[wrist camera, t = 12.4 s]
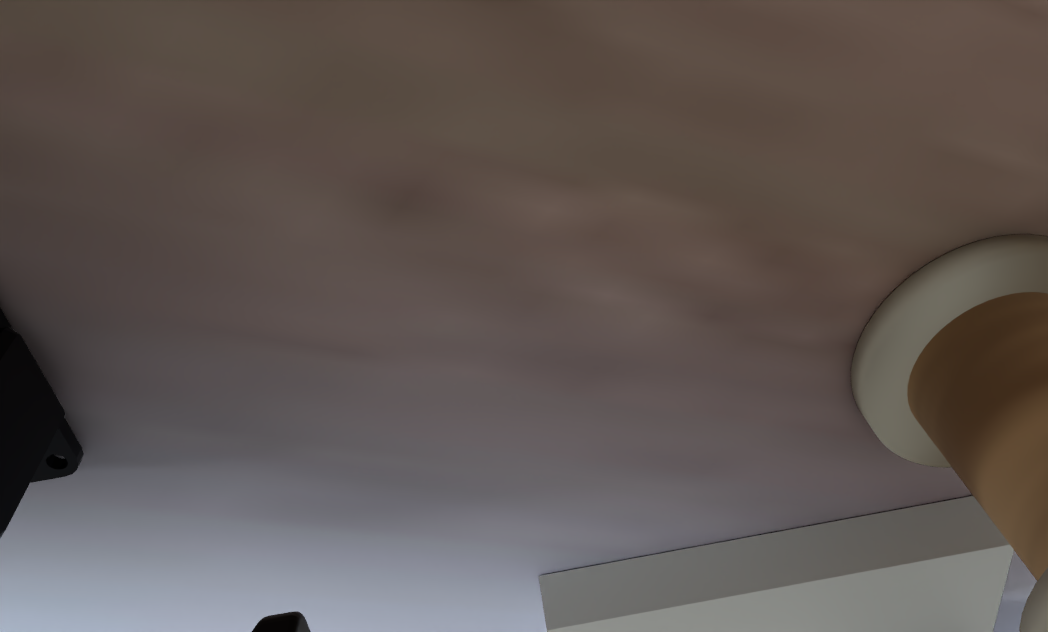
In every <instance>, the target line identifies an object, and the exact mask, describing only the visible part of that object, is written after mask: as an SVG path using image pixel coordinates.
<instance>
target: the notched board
mask: <svg viewBox="0 0 1048 632" xmlns="http://www.w3.org/2000/svg"><path fill="white" fill-rule="evenodd" d="M1013 552H1014V549H1013V548H1012V547H1011V545H1010V544H1009V543H1008V541H1007V540H1006V539H1005V537H1004V536H1003V535H1002V533H1001V532H1000V531H999V529H998V528H997V527H996V525H995V524H994V523H993V521H992V520H991V519H990V517H989V516H988V515H987V513H986V512H985V511H984V509H983V508H982V507H981V505H980V504H979V503H978V501H977V500H976V499H975V497H974V496H970V497H964V498H959V499H953V500H948V501H943V502H937V503H932V504H926V505H921V506H915V507H910V508H905V509H899V510H894V511H888V512H883V513H877V514H872V515H867V516H861V517H856V518H850V519H845V520H839V521H834V522H829V523H823V524H818V525H812V526H807V527H801V528H796V529H791V530H785V531H780V532H774V533H769V534H763V535H758V536H753V537H747V538H742V539H736V540H731V541H725V542H720V543H715V544H709V545H704V546H698V547H693V548H688V549H682V550H677V551H671V552H666V553H660V554H655V555H650V556H644V557H639V558H633V559H628V560H622V561H617V562H612V563H606V564H601V565H595V566H590V567H584V568H579V569H574V570H568V571H563V572H557V573H552V574H546V575H541V576H539V582H540V588H541V595H542V601H543V608H544V614H545V621H546V627H547V632H993V629H994V625H995V621H996V617H997V614H998V610H999V606H1000V602H1001V598H1002V594H1003V590H1004V587H1005V583H1006V579H1007V575H1008V571H1009V567H1010V563H1011V560H1012V556H1013Z"/></svg>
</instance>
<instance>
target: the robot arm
mask: <svg viewBox="0 0 1048 632" xmlns="http://www.w3.org/2000/svg"><path fill="white" fill-rule="evenodd" d="M64 415H65V412H64V410H63V408H62V406H61V404H60V403H59V401H58V399H57V397H56V396H55V394H54V392H53V391H52V389H51V387H50V385H49V384H48V382H47V380H46V378H45V377H44V375H43V373H42V371H41V370H40V368H39V366H38V365H37V363H36V361H35V359H34V358H33V356H32V354H31V352H30V351H29V349H28V347H27V345H26V344H25V342H24V340H23V339H22V337H21V335H20V334H19V333H17V332H16V331H15V330H14V329H13V328H12V327H11V325H10V323H9V322H8V320H7V318H6V316H5V315H4V313H3V311H2V309H1V308H0V538H1V537H2V535H3V533H4V532H5V530H6V528H7V526H8V524H9V522H10V520H11V518H12V516H13V514H14V512H15V511H16V509H17V507H18V505H19V503H20V501H21V499H22V497H23V495H24V493H25V491H26V489H27V487H28V485H29V483H31V482H37V481H42V480H48V479H53V478H59V477H64V476H68V475H71V474H73V473H74V472H75V471H76V470H77V468H78V466H79V464H80V462H81V460H82V457H83V451H82V447H81V446H80V444H79V442H78V441H77V439H76V437H75V435H74V434H73V432H72V430H71V428H70V427H69V425H68V423H67V422H66V420H65V418H64ZM54 454H57V455H61V456H63V457H64V458H65V459H61V458H58V457H56V456H55V455H54ZM252 632H310V629H309V627H308V624H307V622H306V619H305V617H304V616H303V615H302V614H301V613H300V612H288V613H283V614H277V615H271V616H267V617H264V618H263V619H261V620H260V621H259V622H258V623H257V625H256V626H255V628H254V629H253V631H252Z"/></svg>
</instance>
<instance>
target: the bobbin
mask: <svg viewBox="0 0 1048 632" xmlns="http://www.w3.org/2000/svg"><path fill="white" fill-rule="evenodd" d="M851 387H852V392H853V396H854V399H855V402H856V405H857V407H858V408H859V410H860V412H861V413H862V415H863V416H864V418H865V419H866V421H867V422H868V424H869V425H870V427H871V428H872V430H873V431H874V433H875V434H876V436H877V437H878V439H879V440H880V441H881V442H882V443H883V444H884V445H885V446H886V447H887V448H888V449H889V450H891V451H892V452H893V453H895V454H896V455H898V456H900V457H902V458H904V459H906V460H908V461H911V462H914V463H917V464H921V465H927V466H932V467H946V468H947V467H952V468H953V469H954V471H955V472H956V473H957V475H958V476H959V477H960V479H961V480H962V481H963V483H964V484H965V485H966V487H967V488H968V489H969V491H970V492H971V493H972V495H973V496H974V497H975V499H976V500H977V501H978V503H979V504H980V505H981V507H982V508H983V509H984V511H985V512H986V513H987V515H988V516H989V517H990V519H991V520H992V521H993V523H994V524H995V525H996V527H997V528H998V529H999V531H1000V532H1001V533H1002V535H1003V536H1004V537H1005V539H1006V540H1007V541H1008V543H1009V544H1010V545H1011V547H1012V548H1013V549H1014V551H1015V552H1016V553H1017V555H1018V556H1019V557H1020V559H1021V560H1022V561H1023V563H1024V564H1025V565H1026V567H1027V568H1028V569H1029V571H1030V572H1031V573H1032V575H1033V576H1034V577H1035V579H1036V580H1037V583H1036V584H1035V586H1034V588H1033V590H1032V592H1031V593H1030V595H1029V597H1028V599H1027V602H1026V604H1025V607H1024V610H1023V612H1022V617H1021V622H1020V632H1048V237H1047V236H1040V235H1032V234H1013V235H1005V236H997V237H993V238H989V239H984V240H980V241H977V242H974V243H971V244H968V245H965V246H962V247H960V248H958V249H955V250H953V251H951V252H949V253H947V254H945V255H943V256H941V257H939V258H937V259H936V260H934V261H932V262H930V263H929V264H927V265H925V266H924V267H923V268H921V269H920V270H918V271H917V272H916V273H914V274H913V275H911V276H910V277H909V278H908V279H907V280H905V281H904V282H903V283H902V284H901V285H899V286H898V287H897V288H896V289H895V290H894V291H893V292H892V293H891V294H890V295H889V296H888V297H887V298H886V299H885V300H884V302H883V303H882V304H881V305H880V307H879V308H878V309H877V311H876V312H875V313H874V314H873V316H872V317H871V319H870V321H869V322H868V324H867V325H866V327H865V329H864V331H863V333H862V335H861V337H860V339H859V341H858V344H857V347H856V350H855V353H854V356H853V361H852V367H851Z"/></svg>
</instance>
